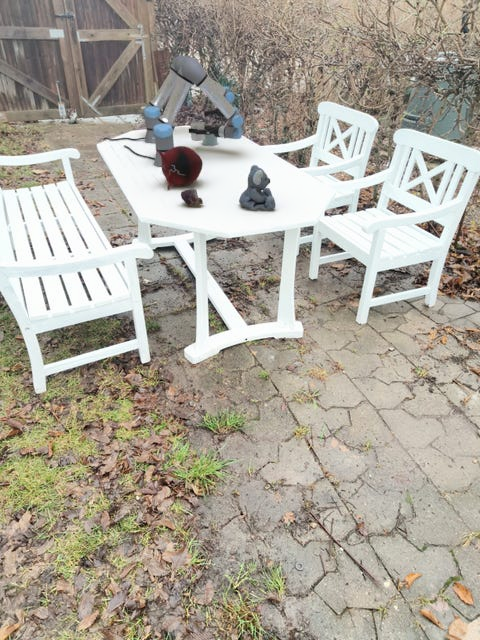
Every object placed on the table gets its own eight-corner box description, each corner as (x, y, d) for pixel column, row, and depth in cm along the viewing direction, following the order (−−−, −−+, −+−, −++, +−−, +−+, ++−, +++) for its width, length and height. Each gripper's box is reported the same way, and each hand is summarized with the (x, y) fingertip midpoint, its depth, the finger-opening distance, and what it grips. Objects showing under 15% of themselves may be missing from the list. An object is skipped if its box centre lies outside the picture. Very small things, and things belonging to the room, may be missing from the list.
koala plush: (276, 211, 223) (277, 171, 212) (240, 212, 222) (240, 172, 211) (271, 199, 237) (272, 161, 226) (237, 200, 236) (237, 162, 225)
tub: (199, 144, 338) (199, 131, 333) (210, 141, 344) (209, 129, 339) (209, 146, 332) (209, 133, 327) (220, 143, 338) (219, 131, 333)
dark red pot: (160, 151, 264) (154, 150, 240) (199, 143, 263) (196, 140, 240) (169, 188, 271) (164, 190, 247) (207, 180, 270) (206, 181, 246)
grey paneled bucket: (188, 139, 320) (187, 124, 314) (198, 137, 325) (197, 121, 320) (198, 141, 314) (197, 125, 308) (208, 139, 320) (207, 123, 314)
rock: (196, 202, 238) (178, 205, 233) (194, 185, 234) (176, 188, 230) (205, 205, 228) (187, 208, 224) (203, 188, 224) (185, 191, 220)
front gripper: (212, 140, 303) (184, 138, 311) (228, 133, 320) (201, 131, 328) (212, 129, 299) (183, 126, 307) (227, 122, 315) (200, 120, 324)
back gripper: (237, 116, 352) (229, 121, 335) (206, 114, 357) (198, 119, 340) (237, 106, 348) (229, 110, 331) (206, 104, 353) (197, 109, 336)
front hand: (192, 129), depth 317 cm, fingers closed on grey paneled bucket, 10 cm apart
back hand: (213, 115), depth 335 cm, fingers open, 13 cm apart
